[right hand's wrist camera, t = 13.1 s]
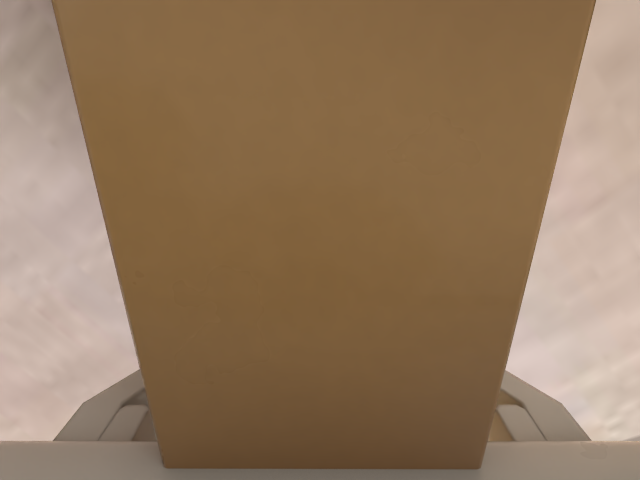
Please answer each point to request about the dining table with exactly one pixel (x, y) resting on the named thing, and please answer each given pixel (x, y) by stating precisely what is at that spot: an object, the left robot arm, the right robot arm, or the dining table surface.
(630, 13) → the dining table surface
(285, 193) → the bar
